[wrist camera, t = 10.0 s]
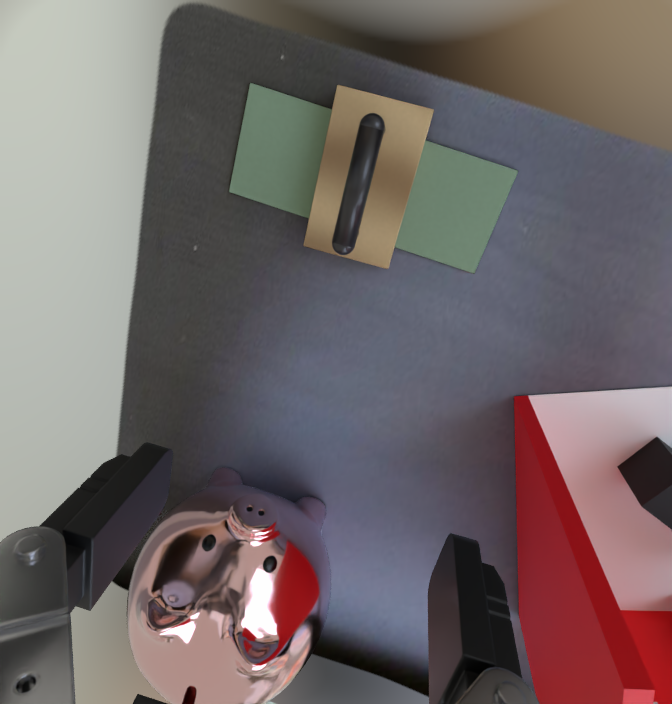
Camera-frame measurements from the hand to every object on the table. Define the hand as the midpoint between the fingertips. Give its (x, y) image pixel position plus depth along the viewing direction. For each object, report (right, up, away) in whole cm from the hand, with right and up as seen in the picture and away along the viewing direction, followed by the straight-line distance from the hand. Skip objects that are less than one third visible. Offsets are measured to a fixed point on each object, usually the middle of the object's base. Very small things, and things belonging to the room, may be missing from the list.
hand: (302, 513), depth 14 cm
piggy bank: (-6, -11, +32) cm, 35 cm away
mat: (+3, +16, +19) cm, 25 cm away
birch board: (+3, +16, +19) cm, 25 cm away
